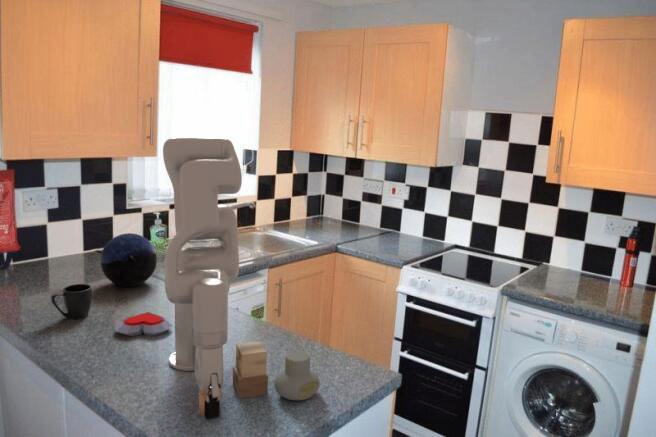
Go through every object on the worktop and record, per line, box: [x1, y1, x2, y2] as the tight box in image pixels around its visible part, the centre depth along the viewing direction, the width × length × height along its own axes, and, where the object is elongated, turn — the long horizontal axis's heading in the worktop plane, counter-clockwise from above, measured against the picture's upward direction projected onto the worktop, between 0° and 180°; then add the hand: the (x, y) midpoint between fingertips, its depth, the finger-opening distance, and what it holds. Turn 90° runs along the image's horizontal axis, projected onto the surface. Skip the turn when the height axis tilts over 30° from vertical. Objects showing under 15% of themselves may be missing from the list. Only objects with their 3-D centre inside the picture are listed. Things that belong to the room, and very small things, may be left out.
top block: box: [235, 340, 268, 378], centre depth 129 cm, size 6×6×6 cm
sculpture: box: [114, 311, 173, 337], centre depth 163 cm, size 17×4×15 cm
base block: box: [232, 365, 269, 399], centre depth 130 cm, size 7×7×5 cm
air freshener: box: [273, 351, 320, 401], centre depth 128 cm, size 11×8×10 cm
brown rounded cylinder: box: [198, 386, 222, 418], centre depth 119 cm, size 5×5×5 cm
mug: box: [50, 283, 93, 320], centre depth 168 cm, size 8×12×10 cm
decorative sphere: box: [99, 232, 158, 288], centre depth 200 cm, size 20×20×20 cm
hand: (209, 409), depth 120 cm, fingers closed on brown rounded cylinder, 4 cm apart
